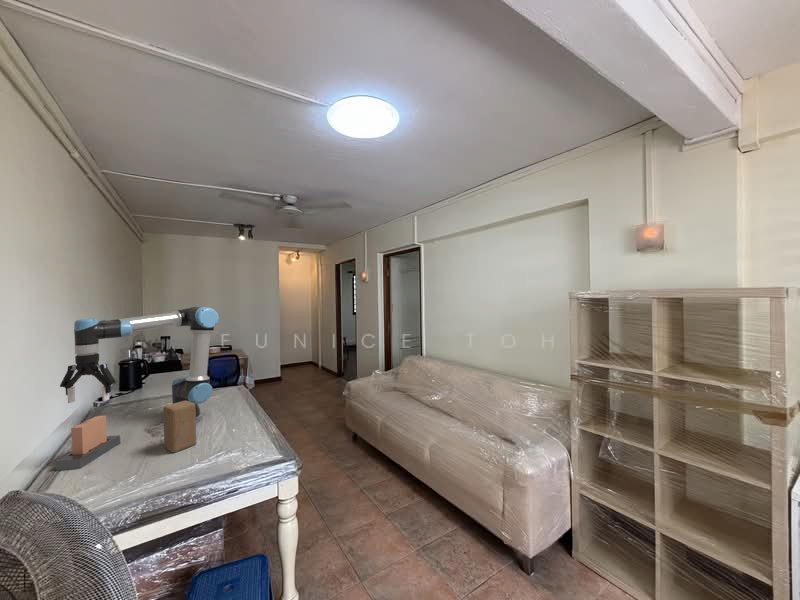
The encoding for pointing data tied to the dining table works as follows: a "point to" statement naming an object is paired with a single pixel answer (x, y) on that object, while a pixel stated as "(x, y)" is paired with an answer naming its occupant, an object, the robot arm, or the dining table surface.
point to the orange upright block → (88, 435)
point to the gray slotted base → (86, 455)
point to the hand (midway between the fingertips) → (88, 401)
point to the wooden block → (179, 425)
